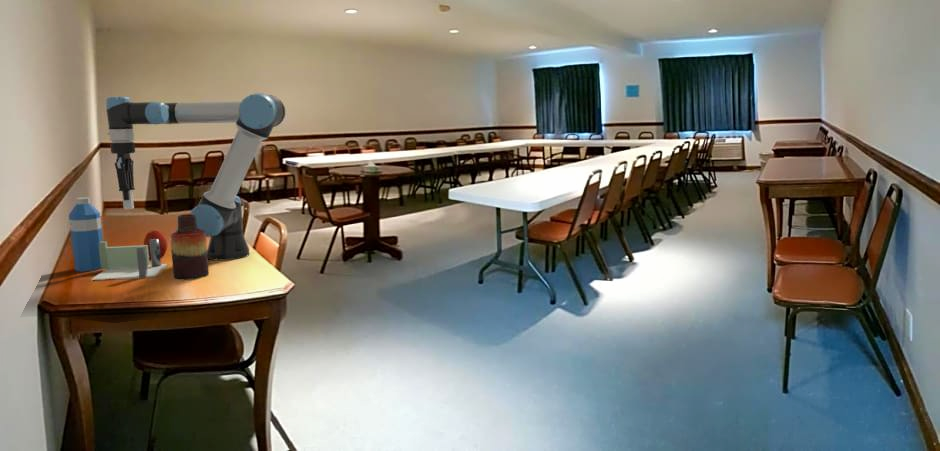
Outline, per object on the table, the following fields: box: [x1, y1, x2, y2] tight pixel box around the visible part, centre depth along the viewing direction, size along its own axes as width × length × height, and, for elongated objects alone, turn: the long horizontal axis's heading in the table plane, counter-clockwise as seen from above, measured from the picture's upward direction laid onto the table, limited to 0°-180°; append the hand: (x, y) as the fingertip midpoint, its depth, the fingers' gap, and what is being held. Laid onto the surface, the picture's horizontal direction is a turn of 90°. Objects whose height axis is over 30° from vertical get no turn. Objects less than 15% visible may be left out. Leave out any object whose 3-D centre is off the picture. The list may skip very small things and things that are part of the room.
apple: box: [143, 230, 168, 258], centre depth 248 cm, size 8×8×11 cm
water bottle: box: [68, 196, 104, 272], centre depth 229 cm, size 9×9×25 cm
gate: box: [98, 240, 151, 269], centre depth 228 cm, size 15×2×9 cm, turn 101°
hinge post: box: [149, 239, 162, 267], centre depth 230 cm, size 3×3×10 cm
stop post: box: [136, 247, 147, 279], centre depth 215 cm, size 2×2×10 cm
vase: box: [169, 213, 210, 281], centre depth 216 cm, size 11×11×20 cm
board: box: [90, 263, 169, 282], centre depth 223 cm, size 19×18×1 cm
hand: (128, 208), depth 232 cm, fingers closed
